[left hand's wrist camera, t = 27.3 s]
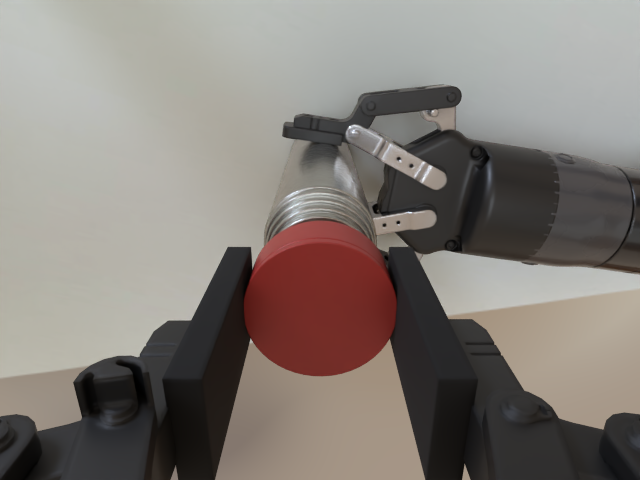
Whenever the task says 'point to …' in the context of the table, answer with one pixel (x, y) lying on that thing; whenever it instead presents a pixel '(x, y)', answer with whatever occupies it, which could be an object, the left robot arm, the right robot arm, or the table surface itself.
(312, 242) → the cap
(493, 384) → the left robot arm
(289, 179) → the bottle
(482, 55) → the table surface
